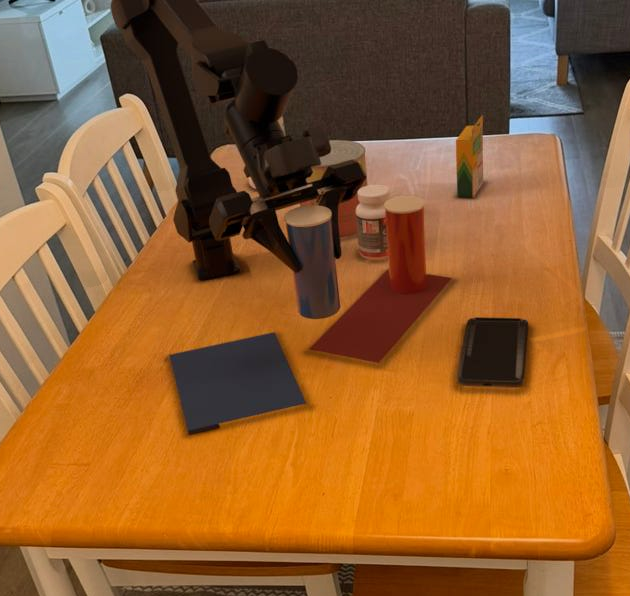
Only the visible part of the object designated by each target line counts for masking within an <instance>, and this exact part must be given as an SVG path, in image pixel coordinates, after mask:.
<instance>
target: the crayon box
mask: <svg viewBox="0 0 630 596" xmlns="http://www.w3.org/2000/svg"><path fill="white" fill-rule="evenodd" d="M483 123H484V115H483V114H482V115H481V116H480V117H479V119H477V121H476V123H474V125H466V126H465V128H464V129H463V130H462V131H461V133H460V134H459V136H457V138H456V140H455V160H456V163H455V164H456V193H457V195H456V196H457V198H459V199H474V198H475V196H476V194H477V193H478V191H479V190H480V188H481V187H482V185H483V184H484V136H483V135H484V132H483V131H484V130H483V127H484V124H483Z"/></svg>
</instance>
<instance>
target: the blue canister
mask: <svg viewBox="0 0 630 596" xmlns="http://www.w3.org/2000/svg"><path fill="white" fill-rule="evenodd" d="M331 216H332V212H331V210H330V209H329V208H327V207H324V206H318V205H308V206H301V207H300V206H298V207H294V208H291V209H290V210H288V211H287V212H286V213H285V214H284V216H283V218H284V222H285V227H286V233H287V234H286V235H287V241H288V243H289V245H290V247H291V248H292V250H293V252H294V254H295V256H296V258H297V261H298V263H299V266H300V271H299V272H298V273H295V272H294V271H292V278H293V285H294V292H295V293H294V294H295V300H296V307H297V313H298V314H299V315H300V316H301V317H303V318H306V319H310V320H320V319H322V320H323V319H327V318H330V317H333V316H334V315H336V314H338V313H339V311H340V310H341V299H340V290H339V289H340V288H339V281H338V279H339V278H338V271H337V262H336V260H337V259H336V258H335V250H334V240H333V231H332V221H331Z"/></svg>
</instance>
